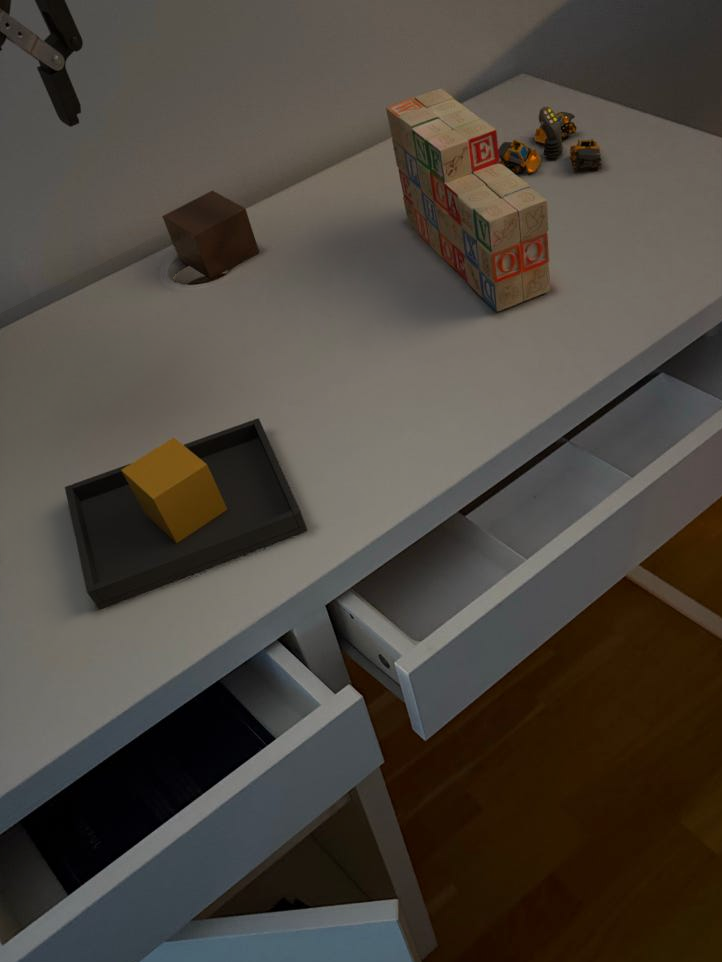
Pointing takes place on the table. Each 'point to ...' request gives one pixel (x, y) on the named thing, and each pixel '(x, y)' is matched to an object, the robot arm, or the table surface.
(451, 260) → the stack of blocks
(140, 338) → the table surface
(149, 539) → the tray
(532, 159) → the toy set
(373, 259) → the table surface
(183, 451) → the top cube
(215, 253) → the base block
